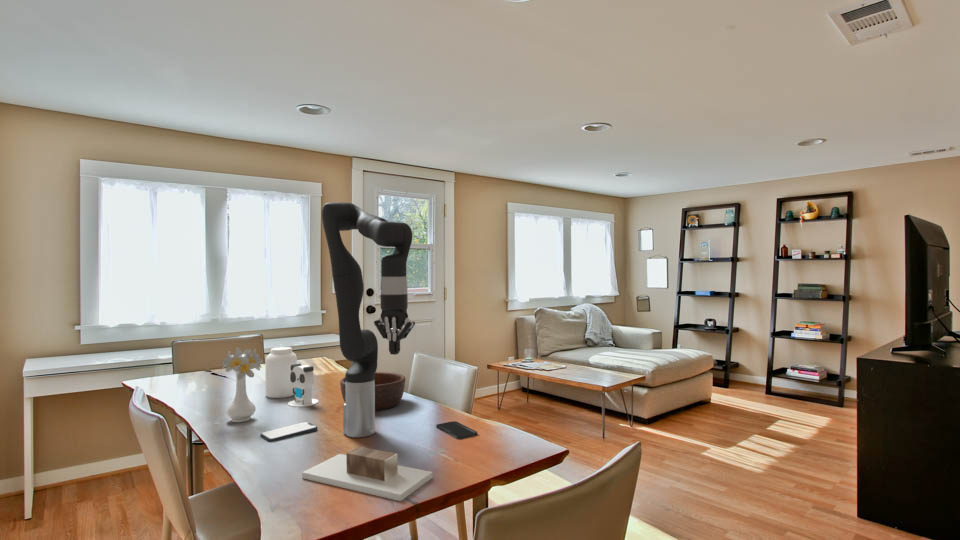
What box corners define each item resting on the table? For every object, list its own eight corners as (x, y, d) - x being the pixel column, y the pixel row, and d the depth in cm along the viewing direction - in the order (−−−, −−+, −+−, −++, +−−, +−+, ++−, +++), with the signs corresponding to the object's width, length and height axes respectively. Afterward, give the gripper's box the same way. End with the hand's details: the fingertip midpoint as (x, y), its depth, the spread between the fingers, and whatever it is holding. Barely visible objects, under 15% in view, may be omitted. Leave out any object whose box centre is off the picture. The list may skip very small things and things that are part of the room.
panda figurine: (281, 403, 199) (281, 365, 199) (307, 397, 207) (307, 361, 207) (297, 408, 191) (297, 369, 191) (323, 402, 199) (323, 364, 199)
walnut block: (346, 453, 126) (385, 460, 121) (359, 446, 131) (397, 453, 126) (346, 472, 126) (385, 481, 121) (359, 465, 131) (397, 473, 126)
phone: (455, 420, 172) (478, 432, 159) (455, 424, 172) (478, 436, 159) (434, 424, 168) (457, 437, 155) (434, 428, 168) (457, 440, 155)
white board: (302, 478, 127) (302, 472, 127) (339, 459, 140) (339, 453, 140) (400, 501, 114) (400, 494, 114) (432, 477, 127) (432, 472, 127)
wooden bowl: (345, 417, 180) (345, 388, 180) (336, 400, 203) (336, 375, 203) (413, 408, 190) (412, 381, 190) (396, 393, 213) (396, 369, 213)
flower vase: (232, 430, 165) (232, 354, 165) (214, 418, 178) (214, 348, 178) (272, 421, 174) (271, 350, 174) (252, 411, 188) (251, 344, 188)
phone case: (270, 444, 154) (319, 431, 165) (269, 439, 153) (318, 426, 165) (259, 438, 160) (306, 425, 171) (258, 433, 160) (306, 421, 171)
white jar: (302, 394, 212) (302, 347, 212) (273, 400, 203) (273, 351, 203) (289, 389, 221) (288, 344, 221) (260, 395, 212) (260, 347, 212)
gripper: (421, 292, 142) (421, 353, 142) (383, 291, 147) (383, 350, 147) (406, 293, 135) (406, 357, 135) (366, 293, 141) (367, 354, 141)
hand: (394, 354), depth 141 cm, fingers closed
